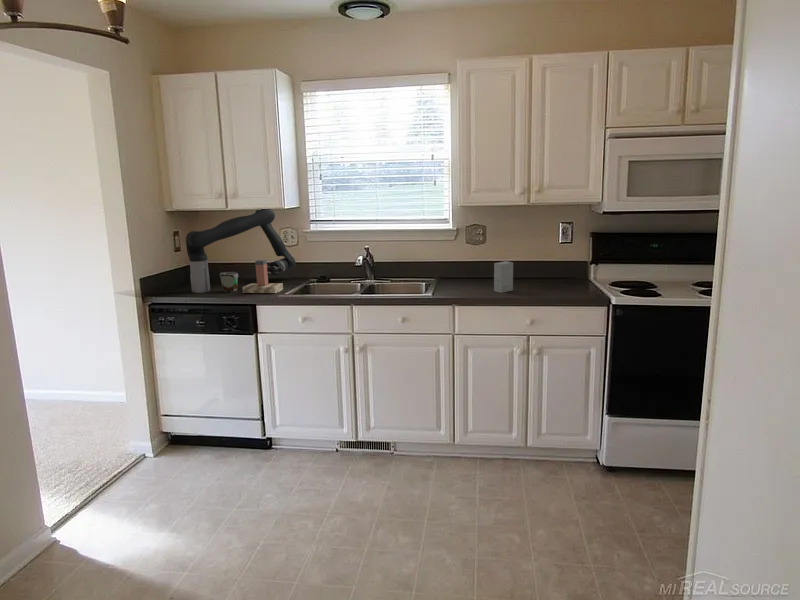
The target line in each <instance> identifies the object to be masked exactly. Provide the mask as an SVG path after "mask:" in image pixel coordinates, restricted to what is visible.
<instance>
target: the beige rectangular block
mask: <svg viewBox="0 0 800 600" xmlns="http://www.w3.org/2000/svg"><path fill="white" fill-rule="evenodd" d="M283 284H284V283H283V282H281V283H279V282H277V283H276V282H274V283H273V282H271V283H270V282H268V285H267V286H257V282H253V283H252V282H251V283H249V284H247V285H244V286H242V294H243V293H276V294H277V292H278V293H279V292H281V291H284V285H283Z"/></svg>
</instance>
